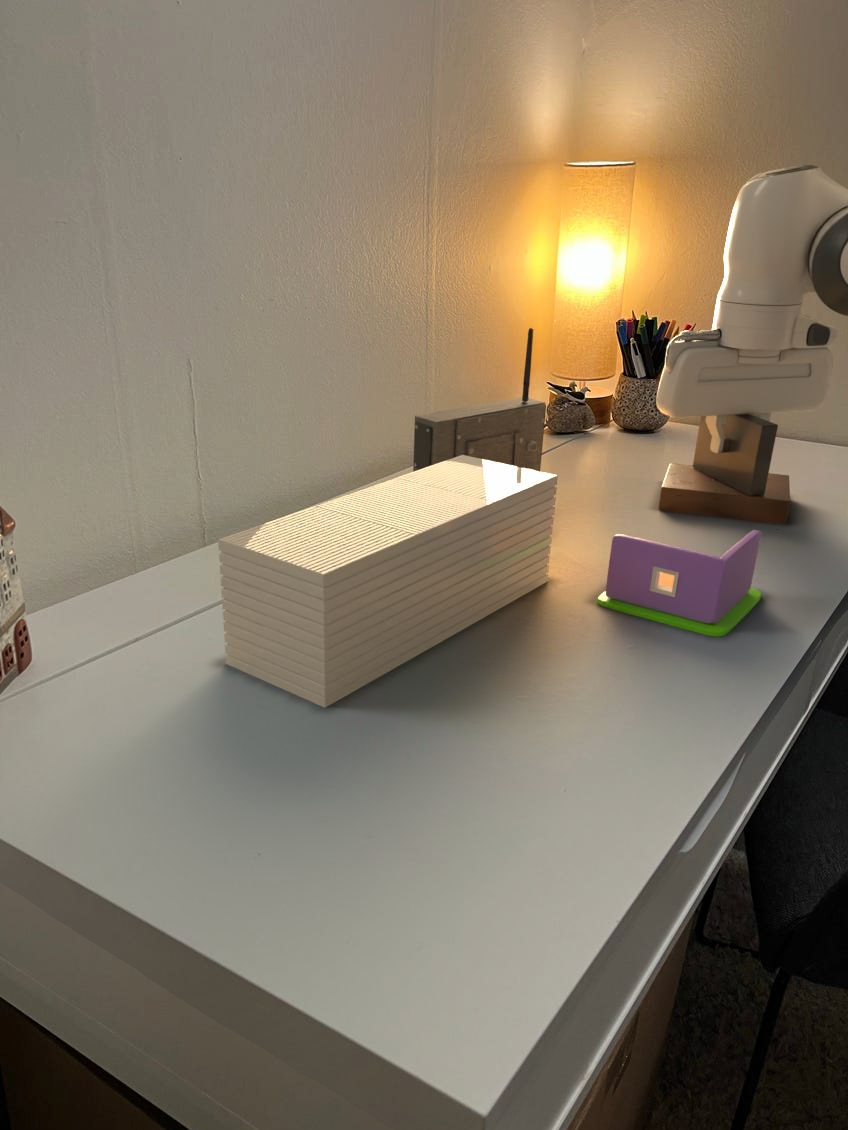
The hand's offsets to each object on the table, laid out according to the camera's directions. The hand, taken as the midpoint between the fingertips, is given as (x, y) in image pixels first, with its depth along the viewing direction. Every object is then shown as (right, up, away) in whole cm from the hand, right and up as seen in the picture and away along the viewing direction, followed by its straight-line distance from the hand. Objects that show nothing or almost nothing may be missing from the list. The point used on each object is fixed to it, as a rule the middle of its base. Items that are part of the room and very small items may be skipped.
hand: (732, 451), depth 112 cm
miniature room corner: (-14, -19, -23) cm, 33 cm away
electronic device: (-29, -7, +1) cm, 30 cm away
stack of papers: (-40, -21, -28) cm, 53 cm away
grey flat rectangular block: (0, -3, +2) cm, 4 cm away
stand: (0, -6, +3) cm, 7 cm away
